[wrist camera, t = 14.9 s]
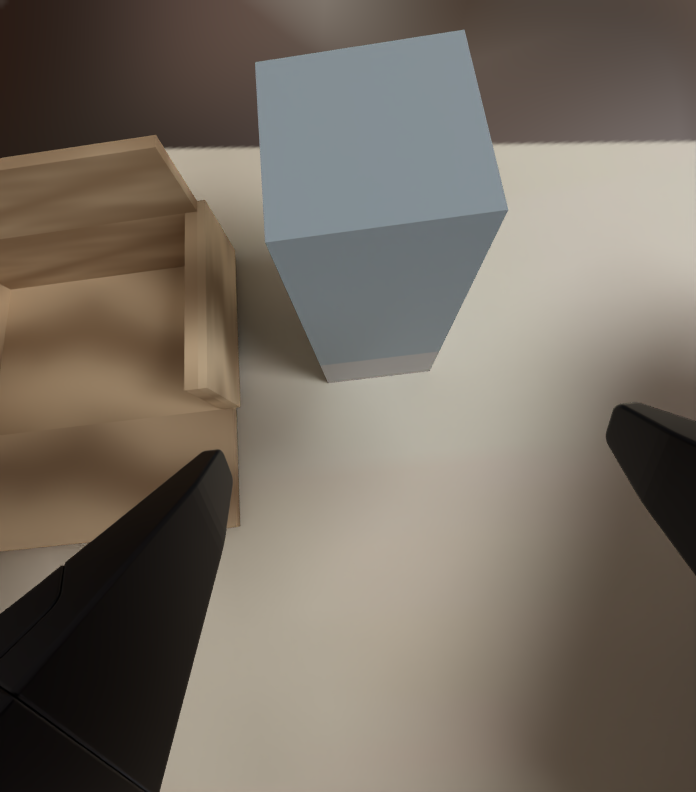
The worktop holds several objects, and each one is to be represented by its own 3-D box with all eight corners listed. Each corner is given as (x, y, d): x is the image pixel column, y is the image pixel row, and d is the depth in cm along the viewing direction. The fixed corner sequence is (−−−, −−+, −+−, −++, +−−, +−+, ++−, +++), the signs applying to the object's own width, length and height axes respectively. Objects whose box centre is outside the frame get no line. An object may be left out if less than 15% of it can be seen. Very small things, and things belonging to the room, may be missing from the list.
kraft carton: (247, 525, 19) (157, 553, 11) (-32, 554, 19) (-307, 601, 11) (237, 255, 22) (165, 133, 15) (4, 287, 23) (-185, 185, 15)
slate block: (429, 371, 20) (507, 209, 8) (328, 382, 20) (264, 242, 8) (414, 279, 21) (464, 30, 10) (319, 292, 21) (255, 62, 10)
